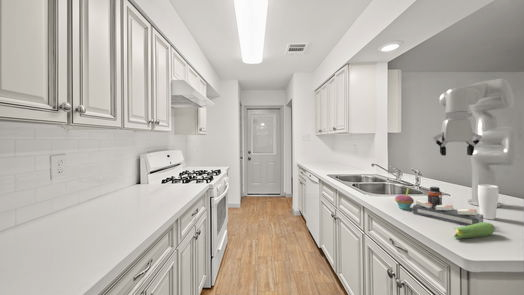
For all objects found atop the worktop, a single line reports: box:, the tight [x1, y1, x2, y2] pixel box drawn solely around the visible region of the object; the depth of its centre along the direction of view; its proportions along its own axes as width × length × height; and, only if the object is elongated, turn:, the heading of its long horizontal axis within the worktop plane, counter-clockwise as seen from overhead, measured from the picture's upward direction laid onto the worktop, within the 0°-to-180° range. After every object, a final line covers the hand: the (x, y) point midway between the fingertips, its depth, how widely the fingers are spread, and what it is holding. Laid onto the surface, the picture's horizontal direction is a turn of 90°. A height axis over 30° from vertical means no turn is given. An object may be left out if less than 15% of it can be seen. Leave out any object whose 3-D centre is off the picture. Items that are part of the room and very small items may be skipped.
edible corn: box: [453, 221, 496, 240], centre depth 86 cm, size 5×20×5 cm
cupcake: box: [394, 186, 415, 211], centre depth 121 cm, size 9×8×12 cm
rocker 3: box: [457, 208, 478, 215], centre depth 97 cm, size 3×6×2 cm, turn 35°
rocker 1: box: [415, 199, 432, 208], centre depth 110 cm, size 3×6×2 cm, turn 35°
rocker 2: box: [435, 204, 454, 210], centre depth 104 cm, size 3×6×2 cm, turn 35°
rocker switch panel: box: [412, 203, 484, 226], centre depth 105 cm, size 8×24×4 cm, turn 35°
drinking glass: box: [478, 184, 500, 221], centre depth 104 cm, size 7×7×15 cm
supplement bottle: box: [427, 186, 443, 206], centre depth 120 cm, size 6×6×11 cm
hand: (456, 155), depth 100 cm, fingers open, 9 cm apart
